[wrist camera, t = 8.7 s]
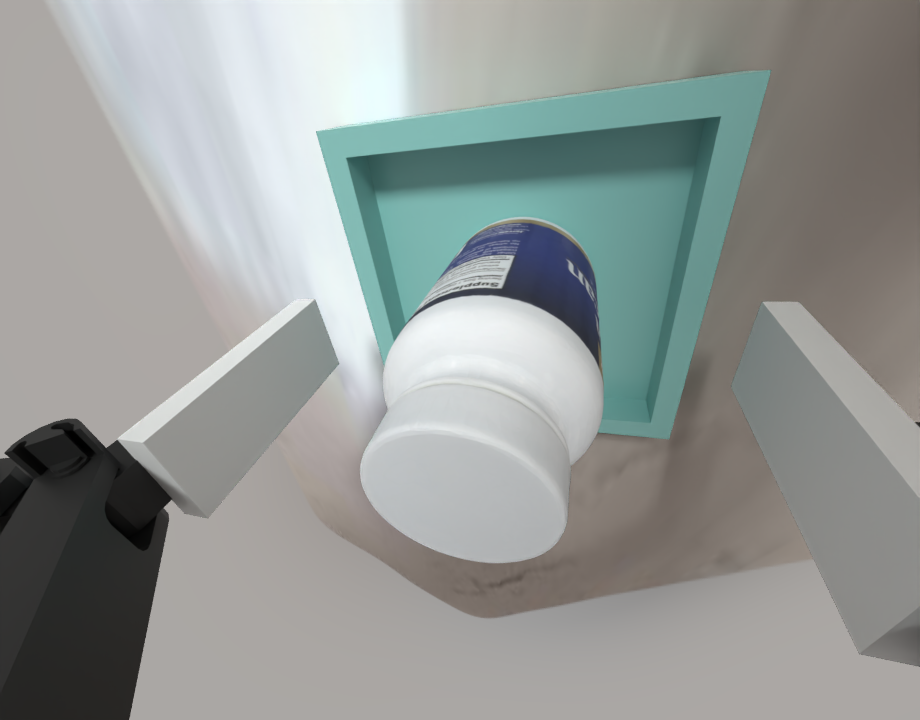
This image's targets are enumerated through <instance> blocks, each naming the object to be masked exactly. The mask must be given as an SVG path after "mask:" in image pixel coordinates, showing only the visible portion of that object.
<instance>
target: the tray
mask: <svg viewBox="0 0 920 720" xmlns="http://www.w3.org/2000/svg"><path fill="white" fill-rule="evenodd" d="M770 73H771V70H757V71H739V72H732V73H724V74H717V75H710V76H702V77H695V78H688V79H680V80H673V81H666V82H659V83H651V84H644V85H637V86H629V87H622V88H615V89H607V90H600V91H593V92H586V93H578V94H571V95H564V96H556V97H549V98H542V99H534V100H527V101H520V102H513V103H505V104H498V105H491V106H483V107H476V108H469V109H461V110H454V111H447V112H440V113H432V114H425V115H418V116H410V117H403V118H396V119H388V120H381V121H374V122H366V123H359V124H352V125H345V126H340V127H336V128H331V129H326V130H321V131H316V133H317V137H318V140H319V143H320V147H321V150H322V154H323V157H324V161H325V164H326V168H327V171H328V174H329V178H330V181H331V185H332V188H333V192H334V195H335V199H336V202H337V205H338V209H339V212H340V216H341V219H342V223H343V226H344V230H345V233H346V236H347V240H348V243H349V247H350V250H351V254H352V257H353V260H354V264H355V267H356V271H357V274H358V278H359V281H360V285H361V288H362V291H363V295H364V298H365V302H366V305H367V309H368V312H369V316H370V319H371V322H372V326H373V329H374V333H375V336H376V340H377V343H378V347H379V350H380V353H381V357H382V360H383V364H384V366H385V362H386V359H387V356H388V353H389V351H390V349H391V347H392V345H393V343H394V342H395V340H396V338H397V337H398V335H399V334H400V332H401V330H402V329H403V327H404V326H405V324H406V323H407V322H408V320H409V319H410V318H411V316H412V315H413V314H414V312H415V311H416V310H417V308H418V307H419V305H420V304H421V303H422V301H423V300H424V298H425V297H426V296H427V294H428V293H429V291H430V290H431V289H432V287H433V286H434V285H435V283H436V282H437V280H438V279H439V278H440V276H441V275H442V274H443V272H444V271H445V269H446V268H447V267H448V265H449V264H450V263H451V261H452V260H453V258H454V257H455V256H456V254H457V253H458V252H459V250H460V249H461V248H462V247H463V245H464V244H465V243H466V242H467V241H468V240H469V239H470V238H471V237H472V236H473V235H474V234H475V233H477V232H478V231H479V230H481V229H482V228H484V227H486V226H488V225H489V224H492V223H494V222H497V221H500V220H503V219H508V218H513V217H533V218H539V219H543V220H546V221H549V222H551V223H554V224H556V225H558V226H560V227H561V228H563V229H565V230H566V231H567V232H569V233H570V234H571V235H572V236H574V237H575V238H576V240H577V241H578V242H579V243H580V244H581V246H582V247H583V249H584V250H585V252H586V253H587V255H588V257H589V259H590V261H591V264H592V267H593V270H594V274H595V279H596V286H597V301H598V314H599V328H600V338H601V357H602V367H603V381H604V406H603V414H602V420H601V424H600V427H599V430H598V432H597V433H608V434H618V435H629V436H640V437H650V438H661V439H669V438H670V435H671V431H672V427H673V424H674V420H675V416H676V413H677V409H678V406H679V402H680V398H681V395H682V391H683V388H684V384H685V380H686V377H687V373H688V369H689V366H690V362H691V359H692V355H693V351H694V348H695V344H696V341H697V337H698V333H699V330H700V326H701V322H702V319H703V315H704V312H705V308H706V304H707V301H708V297H709V294H710V290H711V286H712V283H713V279H714V276H715V272H716V268H717V265H718V261H719V257H720V254H721V250H722V247H723V243H724V239H725V236H726V232H727V229H728V225H729V221H730V218H731V214H732V210H733V207H734V203H735V200H736V196H737V192H738V189H739V185H740V182H741V178H742V174H743V171H744V167H745V164H746V160H747V156H748V153H749V149H750V145H751V142H752V138H753V135H754V131H755V127H756V124H757V120H758V117H759V113H760V109H761V106H762V102H763V98H764V95H765V91H766V88H767V84H768V80H769V77H770Z"/></svg>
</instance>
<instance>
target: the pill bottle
mask: <svg viewBox="0 0 920 720" xmlns="http://www.w3.org/2000/svg"><path fill="white" fill-rule="evenodd" d="M383 393H384V398H385V402H386V406H387V409H388V411H387V413H386V414H385V416H384V418H383V420H382V421H381V423H380V425H379V426H378V428H377V430H376V432H375V433H374V435H373V437H372V439H371V440H370V442H369V444H368V446H367V448H366V449H365V451H364V454H363V457H362V460H361V465H360V478H361V484H362V487H363V489H364V492H365V494H366V496H367V498H368V500H369V501H370V503H371V504H372V506H373V507H374V508H375V510H376V511H377V512H378V513H379V514H380V515H381V516H382V517H383V518H384V519H385V520H386V521H387V522H388V523H389V524H391V525H392V526H393V527H394V528H396V529H397V530H398V531H400V532H401V533H402V534H404V535H406V536H407V537H409V538H410V539H412V540H414V541H416V542H418V543H419V544H421V545H424V546H426V547H428V548H430V549H433V550H435V551H437V552H440V553H443V554H446V555H449V556H452V557H456V558H460V559H465V560H469V561H476V562H482V563H509V562H519V561H523V560H528V559H532V558H535V557H537V556H540V555H542V554H544V553H545V552H547V551H548V550H550V549H551V548H552V547H553V546H554V545H555V544H556V543H557V542H558V541H559V540H560V538H561V537H562V535H563V533H564V531H565V528H566V525H567V521H568V505H569V489H570V480H571V465H573V464H574V463H575V462H576V461H577V460H578V459H579V458H580V457H581V456H582V455H583V454H584V453H585V452H586V451H587V450H588V448H589V447H590V445H591V444H592V442H593V440H594V439H595V437H596V435H597V432H598V430H599V427H600V424H601V420H602V414H603V406H604V381H603V367H602V357H601V338H600V328H599V314H598V301H597V286H596V279H595V274H594V270H593V267H592V264H591V261H590V259H589V257H588V255H587V253H586V252H585V250H584V249H583V247H582V246H581V244H580V243H579V242H578V241H577V240H576V238H575V237H574V236H572V235H571V234H570V233H569V232H567V231H566V230H565V229H563V228H561V227H560V226H558V225H556V224H554V223H551V222H549V221H546V220H543V219H539V218H533V217H513V218H508V219H503V220H500V221H497V222H494V223H492V224H489V225H488V226H486V227H484V228H482V229H481V230H479V231H478V232H477V233H475V234H474V235H473V236H472V237H471V238H470V239H469V240H468V241H467V242H466V243H465V244H464V245H463V247H462V248H461V249H460V250H459V252H458V253H457V254H456V256H455V257H454V258H453V260H452V261H451V263H450V264H449V265H448V267H447V268H446V269H445V271H444V272H443V274H442V275H441V276H440V278H439V279H438V280H437V282H436V283H435V285H434V286H433V287H432V289H431V290H430V291H429V293H428V294H427V296H426V297H425V298H424V300H423V301H422V303H421V304H420V305H419V307H418V308H417V310H416V311H415V312H414V314H413V315H412V316H411V318H410V319H409V320H408V322H407V323H406V324H405V326H404V327H403V329H402V330H401V332H400V334H399V335H398V337H397V338H396V340H395V342H394V343H393V345H392V347H391V349H390V351H389V353H388V356H387V359H386V362H385V366H384V372H383Z"/></svg>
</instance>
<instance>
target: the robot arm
mask: <svg viewBox="0 0 920 720" xmlns="http://www.w3.org/2000/svg"><path fill="white" fill-rule="evenodd" d="M338 364H339V362H338V359H337V357H336V354H335V351H334V348H333V346H332V343H331V340H330V338H329V335H328V332H327V330H326V327H325V324H324V322H323V319H322V316H321V314H320V311H319V308H318V306H317V303H316V300H315V299H296V300H295V301H293V302H292V303H291V304H290V305H288V306H287V307H286V308H284V309H283V310H282V311H281V312H279V313H278V314H277V315H275V316H274V317H273V318H272V319H270V320H269V321H268V322H266V323H265V324H264V325H263V326H261V327H260V328H259V329H257V330H256V331H255V332H254V333H252V334H251V335H250V336H248V337H247V338H246V339H245V340H243V341H242V342H241V343H239V344H238V345H237V346H236V347H234V348H233V349H232V350H230V351H229V352H228V353H227V354H225V355H224V356H223V357H221V358H220V359H219V360H218V361H217V362H215V363H214V364H212V365H211V366H210V367H209V368H207V369H206V370H205V371H204V372H202V373H201V374H200V375H198V376H197V377H196V378H195V379H193V380H192V381H191V382H189V383H188V384H187V385H185V386H184V387H183V388H182V389H180V390H179V391H178V392H177V393H175V394H174V395H173V396H171V397H170V398H169V399H167V400H166V401H165V402H164V403H162V404H161V405H160V406H158V407H157V408H156V409H155V410H154V411H152V412H151V413H149V414H148V415H147V416H146V417H145V418H143V419H142V420H140V421H139V422H138V423H137V424H135V425H134V426H133V427H132V428H130V429H129V430H128V431H126V432H125V433H124V434H122V435H121V436H120V437H119V438H117V440H116V441H115V442H114V443H113V444H111V445H110V446H109V447H107V448H105V446H104V445H103V444H102V443H101V442H100V441H99V440H98V439H97V438H96V437H95V436H94V435H93V434H92V433H91V432H90V431H89V430H88V429H87V428H86V427H85V425H83V423H82V422H80V421H79V420H78V419H65V420H60V421H56V422H53V423H51V424H48V425H46V426H43V427H41V428H39V429H37V430H35V431H33V432H31V433H29V434H28V435H26V436H24V437H23V438H21V439H20V440H18V441H17V442H16V443H14V444H13V445H12V446H11V447H10V448H9V449H8V450H7V451H6V452H5V454H6V455H7V456H8V457H9V458H5V459H4V458H3V459H0V720H129V717H130V712H131V708H132V703H133V698H134V693H135V687H136V682H137V678H138V673H139V668H140V663H141V657H142V652H143V647H144V643H145V638H146V632H147V627H148V622H149V617H150V612H151V607H152V602H153V597H154V592H155V587H156V582H157V577H158V572H159V567H160V562H161V557H162V552H163V547H164V542H165V537H166V532H167V527H168V522H169V515H168V513H167V512H166V510H165V509H164V506H166V504H168V503H169V502H170V501H171V499H172V500H173V501H174V502H175V503H176V505H177V506H178V507H179V508H180V509H181V510H182V511H183V512H184V513H185V514H189V515H194V516H199V517H203V518H209V517H210V516H211V514H212V513H213V512H214V511H215V509H216V508H217V507H218V506H219V505H220V504H221V503H222V501H223V500H224V499H225V498H226V497H227V495H228V494H229V493H230V492H231V491H232V490H233V488H234V487H235V486H236V485H237V484H238V482H239V481H240V480H241V479H242V478H243V477H244V475H245V474H246V473H247V472H248V471H249V470H250V468H251V467H252V466H253V465H254V464H255V462H256V461H257V460H258V459H259V458H260V457H261V455H262V454H263V453H264V452H265V450H266V449H267V448H268V447H269V446H270V445H271V444H272V442H273V441H274V440H275V439H276V438H277V436H278V435H279V434H280V433H281V432H282V431H283V429H284V428H285V427H286V426H287V425H288V423H289V422H290V421H291V420H292V419H293V418H294V416H295V415H296V414H297V413H298V412H299V410H300V409H301V408H302V407H303V406H304V405H305V403H306V402H307V401H308V400H309V399H310V398H311V396H312V395H313V394H314V393H315V392H316V390H317V389H318V388H319V387H320V386H321V385H322V383H323V382H324V381H325V380H326V379H327V377H328V376H329V375H330V374H331V373H332V372H333V370H334V369H335V368H336V367H337V366H338ZM731 388H732V390H733V392H734V394H735V396H736V398H737V400H738V403H739V405H740V407H741V409H742V411H743V413H744V415H745V417H746V419H747V421H748V423H749V425H750V428H751V430H752V432H753V434H754V436H755V438H756V440H757V442H758V444H759V446H760V448H761V450H762V453H763V455H764V457H765V459H766V461H767V463H768V465H769V467H770V469H771V471H772V473H773V476H774V478H775V480H776V482H777V484H778V486H779V488H780V490H781V492H782V494H783V496H784V498H785V501H786V503H787V505H788V507H789V509H790V511H791V513H792V515H793V517H794V519H795V521H796V523H797V526H798V528H799V530H800V532H801V534H802V536H803V538H804V540H805V542H806V544H807V546H808V548H809V551H810V553H811V555H812V557H813V559H814V561H815V563H816V565H817V567H818V569H819V571H820V573H821V575H822V578H823V580H824V582H825V584H826V586H827V588H828V590H829V592H830V594H831V596H832V598H833V601H834V603H835V605H836V607H837V609H838V611H839V613H840V615H841V617H842V619H843V621H844V623H845V626H846V628H847V629H848V632H849V634H850V636H851V638H852V640H853V642H854V644H855V646H856V648H857V651H858V653H859V654H861V655H866V656H871V657H876V658H881V659H885V660H890V661H895V662H900V663H905V664H909V665H914V666H919V667H920V422H914V421H913V420H912V419H911V418H910V417H909V416H908V415H907V414H906V413H905V412H904V411H903V410H902V409H901V408H900V407H899V406H898V405H897V403H896V402H895V401H894V400H893V399H892V398H891V397H890V396H889V395H888V394H887V393H886V392H885V391H884V390H883V389H882V388H881V387H880V386H879V385H878V384H877V383H876V382H875V381H874V380H873V379H872V377H871V376H870V375H869V374H868V373H867V372H866V371H865V370H864V369H863V368H862V367H861V366H860V365H859V364H858V363H857V362H856V361H855V360H854V359H853V358H852V357H851V356H850V355H849V354H848V353H847V352H846V350H845V349H844V348H843V347H842V346H841V345H840V344H839V343H838V342H837V341H836V340H835V339H834V338H833V337H832V336H831V335H830V334H829V333H828V332H827V331H826V330H825V329H824V328H823V327H822V326H821V324H820V323H819V322H818V321H817V320H816V319H815V318H814V317H813V316H812V315H811V314H810V313H809V312H808V311H807V310H806V309H805V308H804V307H803V306H802V305H801V304H800V303H799V302H762V303H761V306H760V308H759V311H758V314H757V317H756V319H755V322H754V325H753V327H752V330H751V333H750V336H749V338H748V341H747V344H746V346H745V349H744V352H743V355H742V357H741V360H740V363H739V366H738V368H737V371H736V374H735V376H734V379H733V382H732V385H731Z"/></svg>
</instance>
